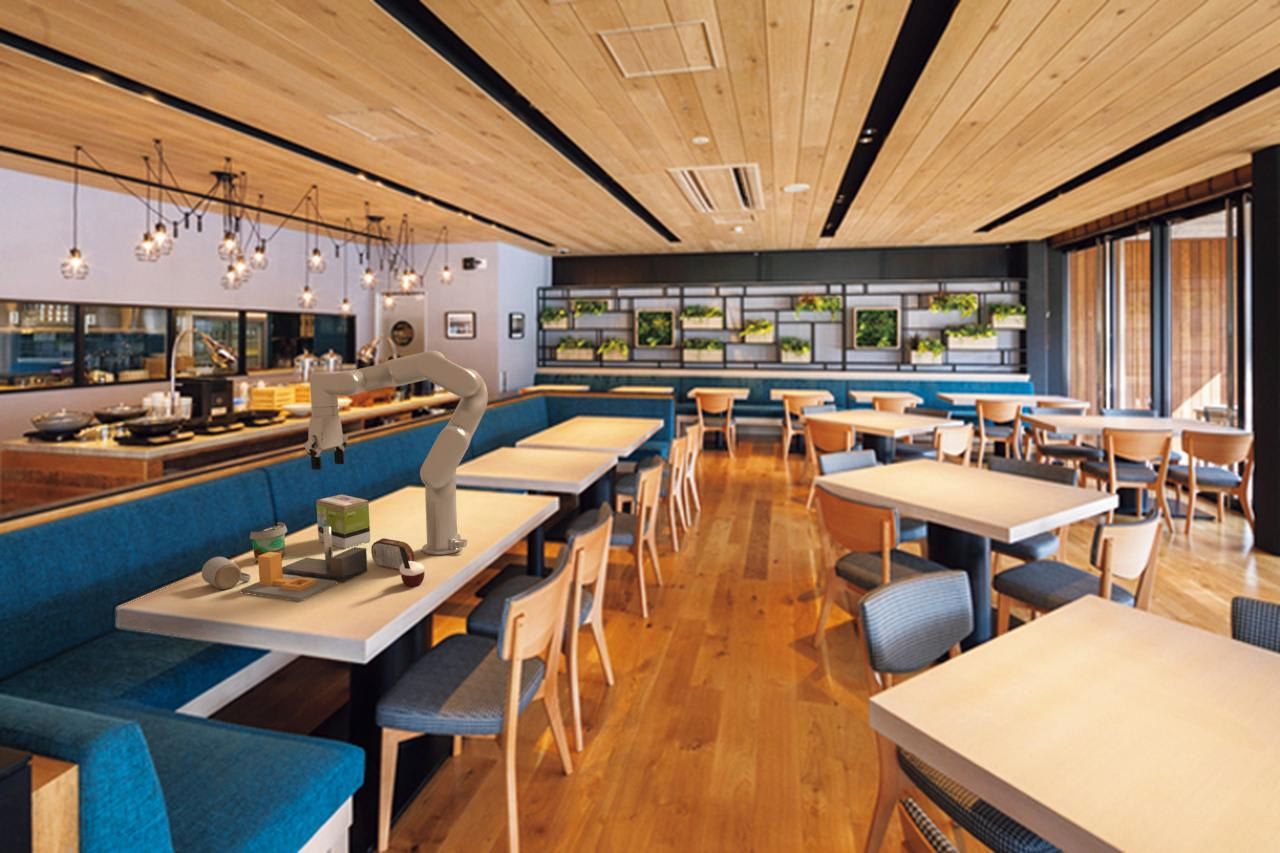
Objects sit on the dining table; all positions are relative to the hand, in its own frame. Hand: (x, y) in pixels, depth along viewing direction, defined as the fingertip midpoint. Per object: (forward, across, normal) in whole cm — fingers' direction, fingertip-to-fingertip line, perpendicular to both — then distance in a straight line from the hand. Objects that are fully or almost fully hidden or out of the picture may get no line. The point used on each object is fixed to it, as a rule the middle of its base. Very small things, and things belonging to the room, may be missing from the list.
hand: (328, 466), depth 212 cm
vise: (+28, +15, +10) cm, 34 cm away
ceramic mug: (+29, +31, -9) cm, 43 cm away
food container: (+28, +9, -14) cm, 33 cm away
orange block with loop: (+27, +28, +9) cm, 40 cm away
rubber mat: (+28, +28, +10) cm, 41 cm away
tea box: (+29, -12, -6) cm, 32 cm away
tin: (+29, +5, +26) cm, 39 cm away
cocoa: (+29, +15, +40) cm, 51 cm away
